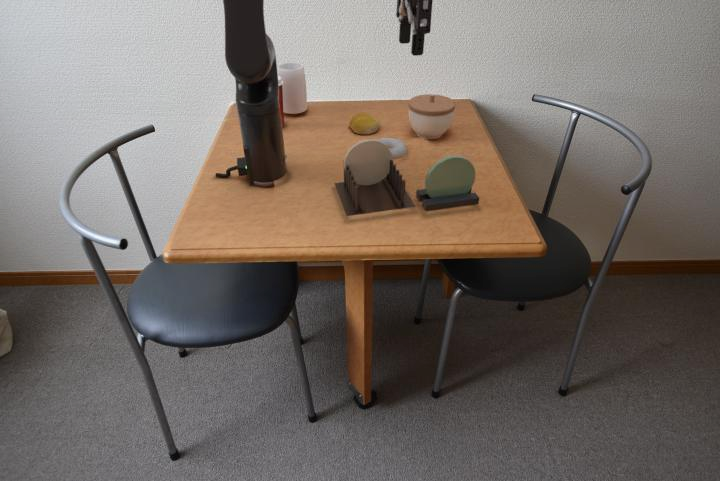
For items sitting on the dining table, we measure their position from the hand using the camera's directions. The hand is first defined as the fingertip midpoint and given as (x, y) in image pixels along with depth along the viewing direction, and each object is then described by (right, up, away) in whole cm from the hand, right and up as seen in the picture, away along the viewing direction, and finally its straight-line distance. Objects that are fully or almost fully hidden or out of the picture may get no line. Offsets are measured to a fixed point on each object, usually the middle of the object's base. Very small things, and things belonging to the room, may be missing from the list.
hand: (410, 48), depth 95 cm
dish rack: (-7, -29, +11) cm, 32 cm away
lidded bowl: (+9, -8, +39) cm, 41 cm away
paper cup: (-35, -5, +44) cm, 57 cm away
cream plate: (-8, -25, +14) cm, 30 cm away
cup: (-30, +1, +52) cm, 60 cm away
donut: (-3, -16, +29) cm, 33 cm away
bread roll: (-9, -6, +42) cm, 44 cm away
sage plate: (+9, -30, +9) cm, 32 cm away
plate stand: (+9, -31, +9) cm, 33 cm away
